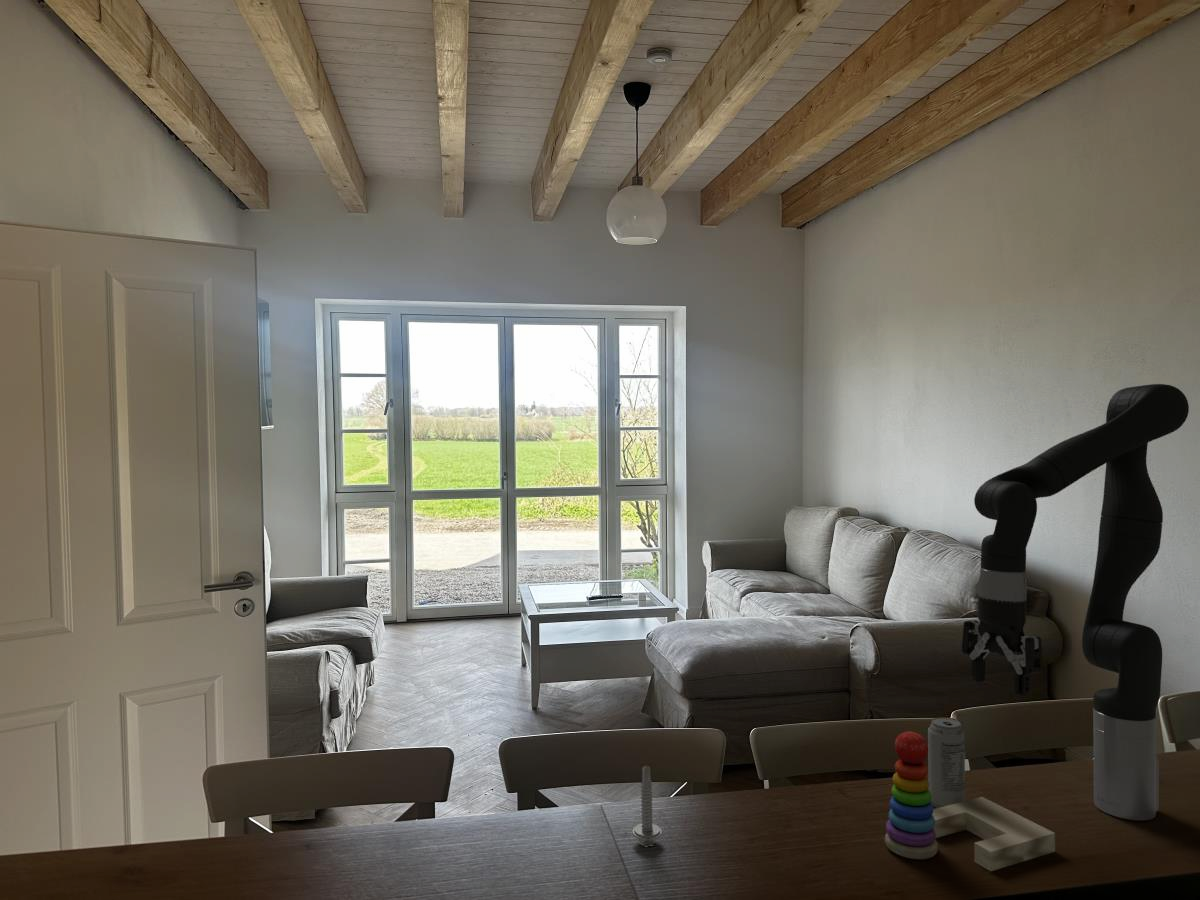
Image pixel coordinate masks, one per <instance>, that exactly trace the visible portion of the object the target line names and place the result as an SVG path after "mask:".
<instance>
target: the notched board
mask: <svg viewBox="0 0 1200 900" xmlns="http://www.w3.org/2000/svg"><path fill="white" fill-rule="evenodd" d="M932 815H933V816H934V819H935V825H934V827H933V828H934V830H935V833H936V837H935V839H937V838H941V837H944V836H948V835H951V834H952V835H953V834H956V833H959V832H962V831H966V830H967V831H968V832H970V833H972V834H973V835H976V836H977V837H978V838H980V839H982V840H979V841H976V842H974V847H973V848H974V849H973V851H974V853H973V854H974V858H973V859H974V861H973V862H974V863H976V864H977V865H979V866H981V867H982V868H984V869H985V870H987V871H989V872H993V871H997V870H1000V869H1003V868H1007V867H1009V866H1013V865H1016V864H1020V863H1022V862H1027V861H1030V860H1033V859H1036V858H1039V857H1042V856H1045V855H1049V854H1052V853H1055V852H1056V833H1055V832H1054V831H1052V830H1050V829H1048V828H1046V827H1044V826H1042V825H1039V824H1038V823H1035V822H1033V821H1032V820H1030V819H1027V818H1026V817H1024V816H1022V815H1019V814H1017V813H1015V812H1014V811H1011V810H1010V809H1007V808H1005V807H1004V806H1001V805H999V804H997V803H995V802H993V801H991V800H990V799H987V798H985V797H983V796H979V797H976V798H971V799H969V800H965V801H964V802H960V803H956V804H952V805H948V806H944V807H940V808H936V807H935V808H933V814H932Z"/></svg>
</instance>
